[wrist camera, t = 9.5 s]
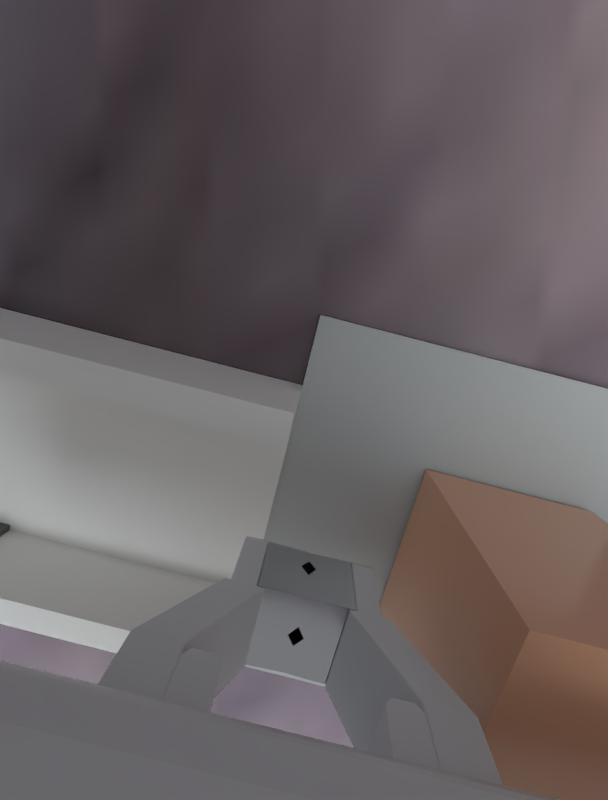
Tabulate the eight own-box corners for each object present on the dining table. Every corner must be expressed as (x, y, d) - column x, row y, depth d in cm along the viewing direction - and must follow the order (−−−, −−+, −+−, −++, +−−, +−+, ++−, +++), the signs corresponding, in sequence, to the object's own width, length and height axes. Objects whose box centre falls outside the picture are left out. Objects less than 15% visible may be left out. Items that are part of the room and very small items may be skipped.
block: (426, 469, 12) (529, 630, 6) (592, 511, 12) (865, 715, 6) (377, 611, 13) (422, 867, 7) (529, 649, 13) (703, 939, 7)
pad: (320, 314, 12) (320, 314, 11) (646, 398, 12) (671, 405, 11) (237, 641, 14) (232, 663, 14) (503, 709, 14) (514, 734, 14)
